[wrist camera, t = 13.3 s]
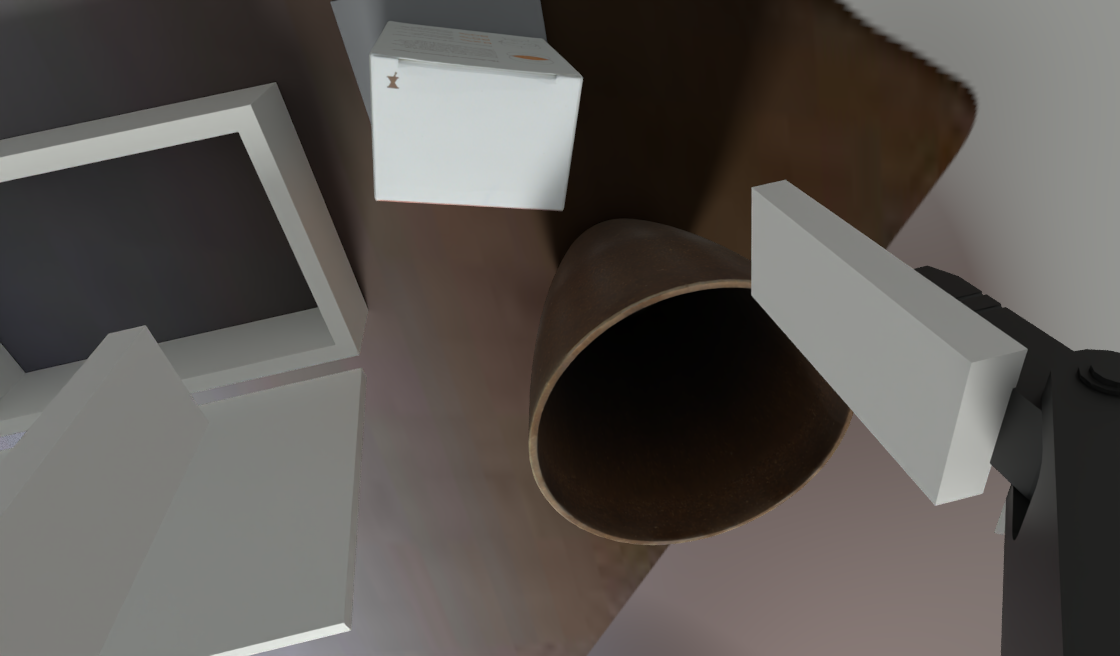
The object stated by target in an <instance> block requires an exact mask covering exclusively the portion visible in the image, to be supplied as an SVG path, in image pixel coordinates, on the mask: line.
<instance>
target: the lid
mask: <svg viewBox="0 0 1120 656" xmlns="http://www.w3.org/2000/svg"><path fill="white" fill-rule="evenodd" d="M366 381H367V377H366V375H365V373H364V371H363V369H362V368H358V369H354V370H350V371H345V372H341V373H337V374H332V375H328V376H324V377H319V378H315V379H310V380H306V381H302V382H297V383H293V384H289V385H284V386H280V387H276V388H271V389H267V390H262V391H258V392H254V393H249V394H245V395H241V396H236V397H232V398H228V399H223V400H219V401H215V402H210V403H206V404H201V405H198V406H199V408H200V409H201V411H202V413H203V414H204V416H205V417H206V419H207V420H208V422H209V424H208V426H207V428H206V431H205V433H204V435H203V437H202V439H201V441H200V443H199V445H198V447H197V450H196V452H195V454H194V456H193V458H192V460H191V462H190V464H189V466H188V468H187V471H186V473H185V475H184V477H183V479H182V481H181V483H180V485H179V487H178V490H177V492H176V494H175V496H174V498H173V500H172V502H171V504H170V506H169V508H168V511H167V513H166V515H165V517H164V519H163V521H162V523H161V525H160V527H159V530H158V532H157V534H156V536H155V538H154V540H153V542H152V544H151V546H150V549H149V551H148V553H147V555H146V557H145V559H144V561H143V563H142V565H141V567H140V570H139V572H138V574H137V576H136V578H135V580H134V582H133V584H132V586H131V589H130V591H129V593H128V595H127V597H126V599H125V601H124V603H123V605H122V608H121V610H120V612H119V614H118V616H117V618H116V620H115V622H114V624H113V626H112V629H111V631H110V633H109V635H108V637H107V639H106V641H105V643H104V645H103V648H102V650H101V652H100V654H99V656H249V655H253V654H257V653H261V652H265V651H269V650H273V649H277V648H281V647H285V646H289V645H293V644H298V643H302V642H306V641H310V640H314V639H318V638H322V637H326V636H330V635H334V634H338V633H342V632H346V631H350V630H351V624H352V607H353V591H354V575H355V559H356V543H357V526H358V510H359V494H360V478H361V462H362V446H363V429H364V413H365V397H366ZM11 450H12V448H10V449H5V450H1V451H0V463H1V462H2V460H3V459H4V458H5V457H6V456H7V454H8V453H9V452H10V451H11Z"/></svg>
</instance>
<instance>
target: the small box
mask: <svg viewBox="0 0 1120 656" xmlns="http://www.w3.org/2000/svg"><path fill="white" fill-rule="evenodd" d="M369 67H370V97H371V124H372V150H373V173H374V197H375V199H376V200H377V201H393V202H409V203H429V204H446V205H465V206H482V207H500V208H518V209H534V210H552V211H563V209H564V205H565V198H566V191H567V185H568V178H569V172H570V165H571V158H572V151H573V144H574V137H575V130H576V123H577V117H578V110H579V103H580V96H581V89H582V82H583V78H582V75H581V74H580V73H579V72H577V71H576V70H575V69H574V68H573V67H572V66H571V65H570V64H569V63H568V62H567V61H566V60H565V59H564V58H563V57H562V56H561V55H560V54H559V53H558V52H557V51H555V50H554V49H553V48H552V47H551V46H550V45H549V44H548V43H547V42H546V41H545V40H544V39H542V38H531V37H522V36H513V35H505V34H496V33H487V32H478V31H469V30H461V29H452V28H443V27H434V26H425V25H417V24H409V23H401V22H394V21H388V22H387V24H386V26H385V27H384V29H383V31H382V33H381V34H380V36H379V38H378V40H377V41H376V43H375V45H374V46H373V48H372V50H371V52H370V53H369Z"/></svg>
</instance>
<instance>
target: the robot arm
mask: <svg viewBox="0 0 1120 656" xmlns="http://www.w3.org/2000/svg"><path fill="white" fill-rule="evenodd" d="M751 295H752V296H753V298H754V299H755V300H756V301H757V302H758V303H759V305H760V306H761V307H762V308H763V309H764V310H765V311H766V313H767V314H768V315H769V316H770V317H771V318H772V319H773V321H774V322H775V323H776V324H777V325H778V326H779V327H780V329H781V330H782V331H783V332H784V333H785V334H786V335H787V337H788V338H789V339H790V340H791V341H792V342H793V343H794V345H795V346H796V347H797V348H798V349H799V350H800V351H801V353H802V354H803V355H804V356H805V357H806V358H807V359H808V361H809V362H810V363H811V364H812V365H813V366H814V367H815V369H816V370H817V371H818V372H819V373H820V374H821V375H822V377H823V378H824V379H825V380H826V381H827V382H828V383H829V385H830V386H831V387H832V388H833V389H834V390H835V391H836V393H837V394H838V395H839V396H840V397H841V398H842V400H843V401H844V402H845V403H846V404H847V405H848V406H849V408H850V409H851V410H852V411H853V412H854V413H855V414H856V416H857V417H858V418H859V419H860V420H861V421H862V422H863V424H864V425H865V426H866V427H867V428H868V429H869V430H870V432H871V433H872V434H873V435H874V436H875V437H876V438H877V439H878V440H879V442H880V443H881V444H882V445H883V446H884V448H885V449H886V450H887V451H888V452H889V453H890V454H891V456H892V457H893V458H894V459H895V460H896V461H897V462H898V463H899V465H900V466H901V467H902V468H903V469H904V470H905V472H906V473H907V474H908V475H909V476H910V477H911V478H912V480H913V481H914V482H915V483H916V484H917V485H918V486H919V487H920V489H921V490H922V491H923V492H924V493H925V494H926V496H927V497H928V498H929V499H930V500H931V501H932V503H933V504H934V505H935V506H936V505H940V504H944V503H947V502H951V501H955V500H959V499H963V498H967V497H971V496H975V495H979V494H982V493H983V491H984V487H985V484H986V481H987V478H988V475H989V471H990V468H991V465H992V466H993V467H994V468H995V469H996V470H998V471H999V472H1000V473H1001V474H1002V475H1003V476H1004V477H1005V478H1006V479H1007V480H1008V481H1009V482H1010V483H1011V486H1010V489H1009V492H1008V495H1007V498H1006V501H1005V504H1004V506H1003V509H1002V512H1001V515H1000V518H999V521H998V524H997V527H996V530H995V533H998V534H1002V535H1003V534H1004V532H1005V543H1004V544H1005V545H1004V577H1003V608H1002V639H1001V656H1120V353H1118V352H1114V351H1108V350H1107V351H1106V350H1088V349H1085V350H1080V351H1073V350H1071V349H1069V348H1068V347H1066V346H1065V345H1063V344H1062V343H1060V342H1059V341H1057V340H1056V339H1054V338H1053V337H1051V336H1049V335H1048V334H1046V333H1045V332H1043V331H1042V330H1040V329H1039V328H1037V327H1036V326H1034V325H1033V324H1031V323H1030V322H1028V321H1026V320H1025V319H1023V318H1022V317H1020V316H1019V315H1017V314H1016V313H1014V312H1013V311H1011V310H1010V309H1008V308H1006V307H1005V308H1002V307H1001V304H1000V303H999V302H997V301H996V300H994V299H993V298H991V297H990V296H988V295H982V291H980V290H979V289H977V288H976V287H974V286H973V285H971V284H970V283H968V282H967V281H965V280H964V279H962V278H960V277H959V276H956V275H953V274H950V273H948V272H945V271H942V270H939V269H936V268H933V267H930V266H924V267H920V268H916V269H912V268H911V267H910V266H908V265H907V264H905V263H903V262H902V261H901V260H900V259H898V258H897V257H895V256H894V255H892V254H891V253H889V252H888V251H887V250H885V249H884V248H882V247H881V246H880V245H878V244H877V243H875V242H874V241H872V240H871V239H869V238H868V237H867V236H865V235H864V234H862V233H861V232H859V231H858V230H857V229H855V228H854V227H852V226H851V225H849V224H848V223H847V222H845V221H844V220H842V219H841V218H839V217H838V216H837V215H835V214H834V213H832V212H831V211H829V210H828V209H827V208H825V207H824V206H822V205H821V204H819V203H818V202H817V201H815V200H814V199H812V198H811V197H809V196H808V195H806V194H805V193H804V192H802V191H801V190H799V189H798V188H796V187H795V186H794V185H792V184H791V183H789V182H788V181H786V180H783V181H778V182H774V183H770V184H765V185H761V186H756V187H752V257H751ZM208 424H209V422H208V420H207V419H206V417H205V416H204V414H203V413H202V411H201V409H200V408H199V406H198V405H197V403H196V402H195V400H194V399H193V397H192V396H191V394H190V393H189V391H188V389H187V388H186V386H185V385H184V383H183V382H182V380H181V379H180V377H179V376H178V374H177V373H176V371H175V370H174V368H173V366H172V365H171V363H170V362H169V360H168V359H167V357H166V356H165V354H164V353H163V351H162V350H161V348H160V346H159V345H158V343H157V342H156V340H155V339H154V337H153V336H152V334H151V333H150V331H149V330H148V328H147V327H146V325H144V326H140V327H135V328H131V329H127V330H122V331H118V332H113V333H109V334H108V335H107V336H106V337H105V338H104V340H103V341H102V342H101V343H100V344H99V346H98V347H97V348H96V349H95V350H94V352H93V353H92V354H91V355H90V356H89V358H88V359H87V360H86V361H85V362H84V363H83V365H82V366H81V367H80V368H79V369H78V371H77V372H76V373H75V374H74V375H73V377H72V378H71V379H70V380H69V381H68V383H67V384H66V385H65V386H64V387H63V389H62V390H61V391H60V392H59V393H58V395H57V396H56V397H55V398H54V399H53V401H52V402H51V403H50V404H49V405H48V407H47V408H46V409H45V410H44V411H43V413H42V414H41V415H40V416H39V417H38V419H37V420H36V421H35V422H34V423H33V424H32V426H31V427H30V428H29V429H28V430H27V432H26V433H25V434H24V435H23V436H22V438H21V439H20V440H19V441H18V442H17V444H16V445H15V446H14V447H13V448H12V450H11V451H10V452H9V453H8V454H7V456H6V457H5V458H4V459H3V460H2V462H1V463H0V656H99V654H100V652H101V650H102V648H103V645H104V643H105V641H106V639H107V637H108V635H109V633H110V631H111V629H112V626H113V624H114V622H115V620H116V618H117V616H118V614H119V612H120V610H121V608H122V605H123V603H124V601H125V599H126V597H127V595H128V593H129V591H130V589H131V586H132V584H133V582H134V580H135V578H136V576H137V574H138V572H139V570H140V567H141V565H142V563H143V561H144V559H145V557H146V555H147V553H148V551H149V549H150V546H151V544H152V542H153V540H154V538H155V536H156V534H157V532H158V530H159V527H160V525H161V523H162V521H163V519H164V517H165V515H166V513H167V511H168V508H169V506H170V504H171V502H172V500H173V498H174V496H175V494H176V492H177V490H178V487H179V485H180V483H181V481H182V479H183V477H184V475H185V473H186V471H187V468H188V466H189V464H190V462H191V460H192V458H193V456H194V454H195V452H196V450H197V447H198V445H199V443H200V441H201V439H202V437H203V435H204V433H205V431H206V428H207V426H208Z"/></svg>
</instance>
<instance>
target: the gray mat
mask: <svg viewBox="0 0 1120 656" xmlns="http://www.w3.org/2000/svg"><path fill="white" fill-rule="evenodd" d="M330 3H331V6H332V9H333V12H334V15H335V18H336V21H337V24H338V27H339V30H340V33H341V36H342V39H343V42H344V45H345V48H346V51H347V54H348V57H349V60H350V63H351V66H352V69H353V71H354V74H355V77H356V80H357V83H358V86H359V89H360V92H361V95H362V98H363V101H364V104H365V107H366V110H367V113H368V116H369V119H370V122H371V97H370V67H369V53H370V52H371V50H372V48H373V46H374V45H375V43H376V41H377V40H378V38H379V36H380V34H381V33H382V31H383V29H384V27H385V26H386V24H387V22H388V21H394V22H401V23H409V24H417V25H425V26H434V27H443V28H452V29H461V30H469V31H478V32H487V33H496V34H505V35H513V36H522V37H531V38H542V39H544V40H545V41H546V42H547V38H546V32H545V26H544V20H543V14H542V8H541V2H540V0H334V1H331V2H330ZM371 125H372V124H371Z"/></svg>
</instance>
